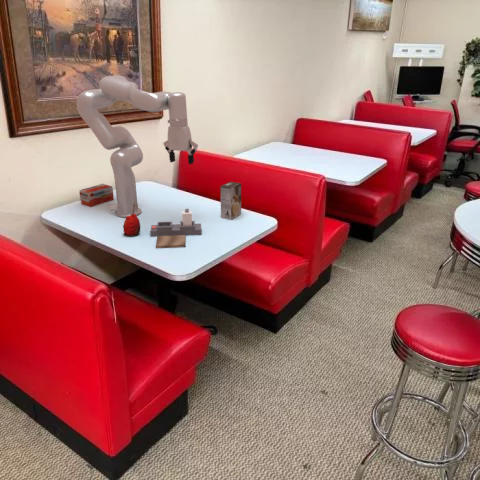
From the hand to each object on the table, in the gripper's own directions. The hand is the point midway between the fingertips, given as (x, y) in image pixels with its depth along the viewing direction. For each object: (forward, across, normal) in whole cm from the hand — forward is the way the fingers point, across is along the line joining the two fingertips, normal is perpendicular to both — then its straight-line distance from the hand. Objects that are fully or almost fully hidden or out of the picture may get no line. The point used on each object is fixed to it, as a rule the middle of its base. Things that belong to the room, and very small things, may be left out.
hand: (181, 162), depth 191 cm
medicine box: (+27, -57, +2) cm, 63 cm away
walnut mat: (+29, +6, -22) cm, 37 cm away
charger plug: (+26, +7, -9) cm, 29 cm away
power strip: (+28, +2, -12) cm, 31 cm away
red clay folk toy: (+28, -14, -22) cm, 38 cm away
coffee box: (+29, +14, +17) cm, 37 cm away
